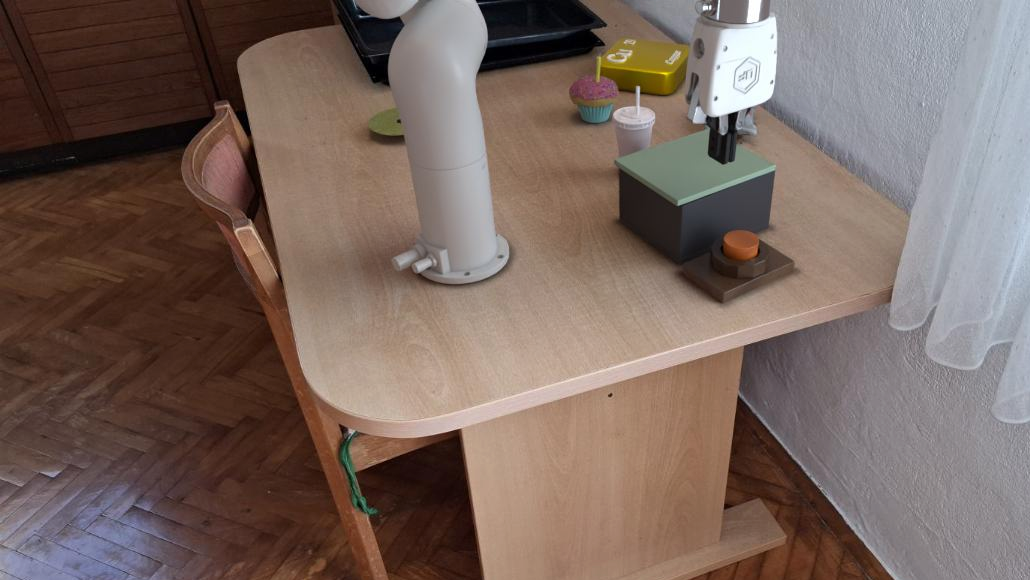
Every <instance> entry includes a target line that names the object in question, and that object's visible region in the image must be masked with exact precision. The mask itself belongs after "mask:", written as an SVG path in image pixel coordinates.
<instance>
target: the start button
mask: <svg viewBox="0 0 1030 580" xmlns="http://www.w3.org/2000/svg"><path fill="white" fill-rule="evenodd" d="M759 239H760V238H759V236H757V234H756V233H755V234H754V233H752V232H749V231H745V230H735V231H731V232H728V233H727V234H726V235H725V236H724V241H723V254H724V255H725V256H726V257H728V258H730V259H734V260H738V261H743V260H751V259H753V258H755V257H756V256H757V254H758V245H759Z"/></svg>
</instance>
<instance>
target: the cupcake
mask: <svg viewBox="0 0 1030 580" xmlns="http://www.w3.org/2000/svg"><path fill="white" fill-rule="evenodd" d="M601 57H602V56H601V52H599V53H598V56H597V57H596V66H595V67H596V68H595V74H588V75H584V76H581V77H580V78H579V79H577V80H575V81H574V82H573V83H572V84H571V86H570V87H569V89H568V95H569V98H570V100H571V102H572V103H573V104H574V105H576V106H577V108H578V110H579V113H580V116H581V119H582V120H583V121H584V122H586V123H590V124H591V123H592V124H600V123H604V122H606V121H608V120H609V118H610V115H611V112H612V109H613V107H614V104H615V102H616V101H617V100H618V99H619V96H620V92H619V90H618V87H617V86H618V85H617V84H616V83H615V82H614V81H613V80H610V79H609V78H607V77H602V76H601V77H600V65H601Z"/></svg>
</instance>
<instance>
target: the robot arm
mask: <svg viewBox="0 0 1030 580" xmlns="http://www.w3.org/2000/svg"><path fill="white" fill-rule="evenodd" d="M353 2H354V3H355V4H356V5H357V6H358V7H359V8H360V9H361V10H362V11H363V12H364V13H366V14H369V15H370V16H371V17H374V18H378V19H382V20H389V19H395V18H400V20H401V21H402V24H403V25H404V26H403V27H402V29H401V30H400V32H399V34H398V35H397V36H396V38H395V40H394V42H393V44H392V47H391V50H390V52H389V56H388V64H387V75H388V77H387V78H388V83H389V87H390V91H391V94H392V98H393V100H394V103H395V106H396V108H397V109H398V113H399V116H400V120H401V124H402V128H403V133H404V135H403V137H404V142H405V148H406V154H407V158H408V163H409V168H410V169H409V170H410V174H411V180H412V186H413V192H414V198H415V202H416V209H417V214H418V219H419V226H420V233H418V234H416V235H414V241H415V244H413V245H412V246H411V247H410V249H409V250H408V251H405V252H402V253H400V254H398V255H396V256H394V257H392V258H391V259H390V260H391V261H390V262H391V265H392V267H393V269H394V270H395V271H396V272H401V271H403V270H406V269H407V268H410V267H411V269H412V270H413V272H414V273H415V274H421V276H423V277H424V278H426V279H428V280H431V281H433V282H435V283H441V284H446V285H448V284H449V285H464V284H472V283H476V282H480V281H482V280H486V279H488V278H490V277H491V276H493V275H495V274H497V273H498V272H499V271H501V270H502V269H503V268H504V267H505V266H506V265H507V263H508V261H509V260H510V259H509V258H510V247H509V243H508V241H507V240H506V238H505V237H504V236H503V235H501V234H500V233H498V232H497V231H496V226H495V217H494V208H493V207H494V206H493V197H492V190H491V180H490V172H489V171H490V170H489V163H488V162H489V161H488V154H487V148H486V147H487V145H486V138H485V130H484V129H485V128H484V123H483V118H482V117H483V116H482V113H481V109H480V105H479V101H478V96H477V95H478V94H477V85H476V84H477V82H476V79H477V75H478V72H479V69H480V67H481V64H482V61H483V59H484V56H485V54H486V52H487V51H486V50H487V47H488V42H489V41H488V40H489V34H488V28H487V23H486V21H485V17H484V15H483V13H482V10H481V9H480V6H479V5H478V2H477V1H476V0H353ZM772 5H773V0H697V1H696V2H695V5H694V6H695V7H694V9H695V12H696V13H697V14H698V15H700V16H699V17H697V18H696V20H695V22H694V23H695V24H694V27H693V32H692V35H691V40H690V45H689V46H690V49H689V56H688V62H687V70H686V77H685V79H684V80H685V81H684V100H685V103H686V104H687V105H689V106H688V109H687V114H686V120H687V121H688V122H690V123H692V124H695V125H704V124H705V125H706V126H707V127H709V128H710V132H709V143H708V156H709V157H711V158H712V159H714V160H716V161H717V162H719V163H720V164H722V165H725V164H727V163H728V162H733V161H735V153H736V144H738V143H737V142H738V136H739V135H738V130H740V129H741V128H742V127H743V124H744V120H745V117H746V116H747V114H748V113H749V112H750V110H751V109H753V108H755V107H756V106H757V107H758V106H760V105H762V104H764V103H766V102H767V101H769V100H770V99H771V98H772V96H773V94H774V90H775V83H776V72H777V59H778V29H777V18H776V14H775V12H772V7H773V6H772Z"/></svg>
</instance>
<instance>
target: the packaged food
mask: <svg viewBox="0 0 1030 580" xmlns="http://www.w3.org/2000/svg"><path fill="white" fill-rule="evenodd" d="M757 108H758V106H756V107H755V108H753V109H751V110H750V112H749V113H748V114H747V116H746V117H745V120H744V124H743V127H742V128H741V129H740V130H738V135H737V136H747V135H750V136H751V135H752V136H755V137H756V136H757V134H758V129H757V126H756V124H754V115H755V111H756V109H757ZM703 125H704V126H703V128H704V130H706V129H710V128H709V127H707V126H706V125H705V124H703Z"/></svg>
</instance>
